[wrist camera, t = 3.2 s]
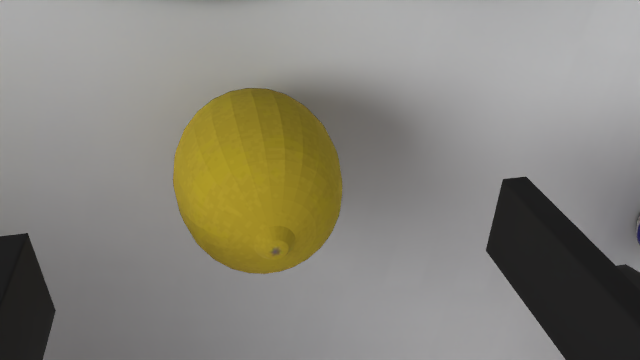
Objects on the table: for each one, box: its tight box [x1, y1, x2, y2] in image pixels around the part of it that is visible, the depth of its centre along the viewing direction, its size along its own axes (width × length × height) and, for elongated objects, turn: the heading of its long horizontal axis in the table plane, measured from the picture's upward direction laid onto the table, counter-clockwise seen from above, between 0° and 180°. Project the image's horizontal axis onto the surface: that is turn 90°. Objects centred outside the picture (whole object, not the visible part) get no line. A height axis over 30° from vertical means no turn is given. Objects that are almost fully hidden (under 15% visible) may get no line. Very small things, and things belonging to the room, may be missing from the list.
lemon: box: [173, 88, 342, 274], centre depth 18 cm, size 6×6×8 cm
